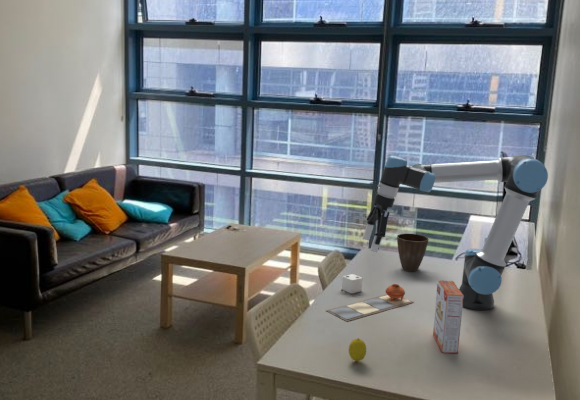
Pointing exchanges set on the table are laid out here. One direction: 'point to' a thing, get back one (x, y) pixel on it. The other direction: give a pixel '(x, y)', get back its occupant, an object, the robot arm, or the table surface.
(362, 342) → the lemon
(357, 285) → the die
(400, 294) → the pot
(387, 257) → the table surface
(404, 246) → the plant pot
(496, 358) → the table surface
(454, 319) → the cracker box
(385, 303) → the board
